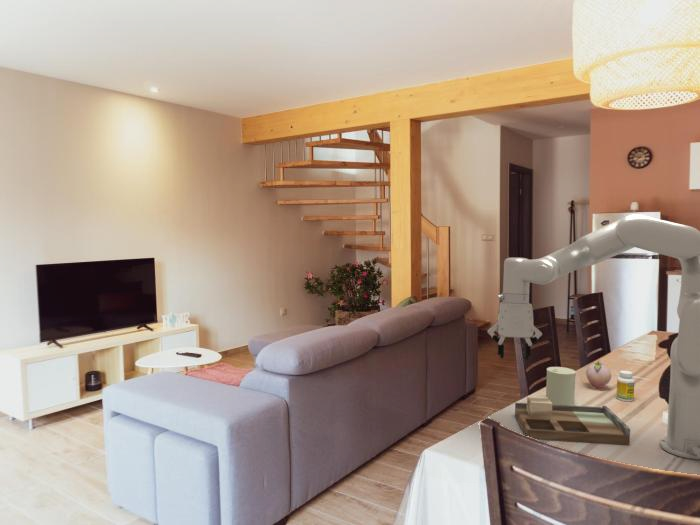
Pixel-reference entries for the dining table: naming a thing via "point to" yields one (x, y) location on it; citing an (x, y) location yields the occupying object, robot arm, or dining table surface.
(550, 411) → the block
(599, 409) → the brown wooden tray
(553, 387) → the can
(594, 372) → the decorative fruit
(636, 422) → the dining table surface
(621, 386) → the supplement bottle
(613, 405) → the dining table surface
